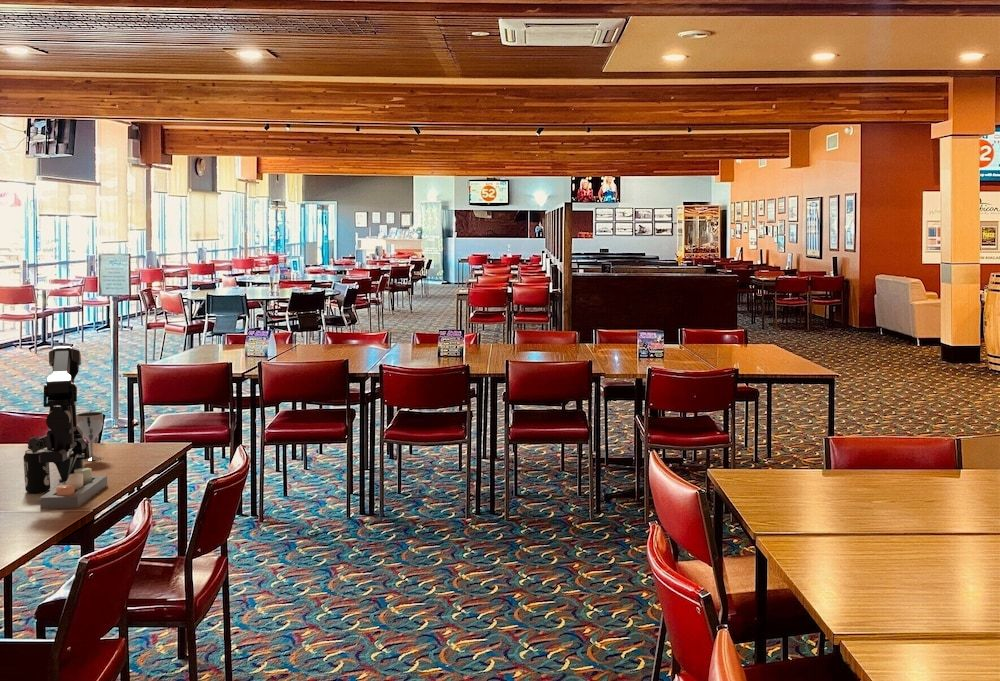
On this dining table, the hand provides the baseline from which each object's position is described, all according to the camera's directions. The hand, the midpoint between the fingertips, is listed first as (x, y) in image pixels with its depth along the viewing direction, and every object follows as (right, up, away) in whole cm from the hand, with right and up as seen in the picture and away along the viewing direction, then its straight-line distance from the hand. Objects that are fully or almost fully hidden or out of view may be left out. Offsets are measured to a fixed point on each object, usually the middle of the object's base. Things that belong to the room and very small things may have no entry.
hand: (64, 481), depth 283 cm
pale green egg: (-1, -3, +15) cm, 15 cm away
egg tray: (0, -5, +8) cm, 9 cm away
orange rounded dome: (0, -6, +1) cm, 6 cm away
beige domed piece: (0, -4, +8) cm, 8 cm away
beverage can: (-14, -5, +14) cm, 20 cm away
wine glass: (-15, -1, +56) cm, 58 cm away
